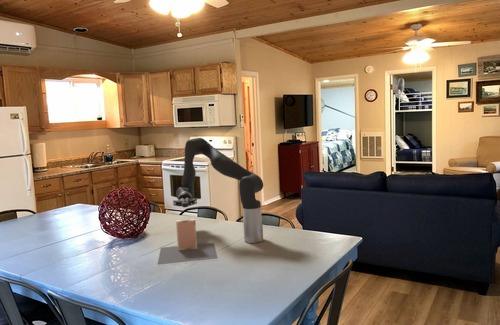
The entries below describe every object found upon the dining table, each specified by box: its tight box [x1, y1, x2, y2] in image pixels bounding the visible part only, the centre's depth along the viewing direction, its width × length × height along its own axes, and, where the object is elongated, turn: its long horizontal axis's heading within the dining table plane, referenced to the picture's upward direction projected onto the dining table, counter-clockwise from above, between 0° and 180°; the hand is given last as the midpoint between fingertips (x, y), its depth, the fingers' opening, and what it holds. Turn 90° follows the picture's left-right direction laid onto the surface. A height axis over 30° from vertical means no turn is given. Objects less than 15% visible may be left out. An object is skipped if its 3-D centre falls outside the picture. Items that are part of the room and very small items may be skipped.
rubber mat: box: [156, 242, 218, 267], centre depth 186 cm, size 26×24×1 cm
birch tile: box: [175, 218, 198, 250], centre depth 191 cm, size 9×2×14 cm, turn 99°
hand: (185, 205), depth 202 cm, fingers closed
